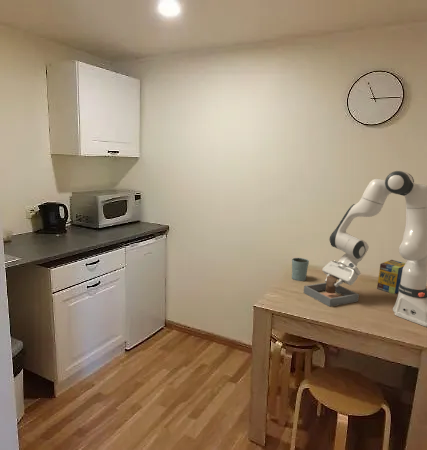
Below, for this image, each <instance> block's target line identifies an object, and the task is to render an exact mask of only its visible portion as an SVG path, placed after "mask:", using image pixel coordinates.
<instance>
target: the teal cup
mask: <svg viewBox="0 0 427 450" xmlns="http://www.w3.org/2000/svg"><path fill="white" fill-rule="evenodd" d="M309 264H310V260H308V259H307V258H302V257H294V258H293V257H292V258H291V279H292V280H294V281H297V282H305V281H306V280H307V273H308V268H309Z"/></svg>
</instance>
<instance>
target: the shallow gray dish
mask: <svg viewBox="0 0 427 450" xmlns="http://www.w3.org/2000/svg"><path fill="white" fill-rule="evenodd" d="M325 290H326V282H320V283H315V284H314V283H313V284H308V285H304V286H303V294H305V295H307V296H309V297H310V298H313V299H314V300H316V301H318V302H320V303H322V304H324V305H326V306H327V307H336V306H339V305H340V306H341V305H345V304H351V303H355V302H358V301H359V296H360V294H359V293H357V292H355V291H354V290H351V289H348V288H346V287H343V286H341V284H340V285H338V286H337V287H336V289H335V293H327V292H326V291H325ZM322 291H325V292H322ZM336 293H338V294H340V295H341V296H339V295H338V294H336Z"/></svg>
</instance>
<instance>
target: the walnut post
mask: <svg viewBox="0 0 427 450" xmlns="http://www.w3.org/2000/svg"><path fill="white" fill-rule="evenodd" d="M326 277H327V282H325V283H326V290H324V291H325V293H326V292H327V293H334V294H336V291H335V289H336V287H335V286H334V285H333V284H334V283H335V282H336V283H337V282H338V280H337V278H336V277H333V276H327V275H326Z"/></svg>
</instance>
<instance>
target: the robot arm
mask: <svg viewBox="0 0 427 450" xmlns="http://www.w3.org/2000/svg"><path fill="white" fill-rule="evenodd" d="M391 194H395V195H399V196H403V197H404V198H405V227H404V231H403V235H402V240H401V243H400V244H399V247H398V252H399V255H400V256H401V258H403V260H406V262H405V263H406V264H405V265H404V267H403V270H402V276H401V283H399V289H398V293H397V297H396V301H395V303H394V305H393V307H392V311H393V313H394V315H395V316H397V317H399V318H401V319H404V320H407V321H410V322H412V323H414V324H417V325H420V326H423V327H427V185H426V184H423V183H416V182H415V179H414V177H413V176H412V175H411V174H410V173H408V172H406V171H404V170H396V171H392V172H390V173H388V175H387V176H386V178H385V179H380V178H374V179H373V178H372V179H371V180H370V181H369V183H368V184H367V186H366V188H365V189H364V190H363V194H362V195H361V197H360V199H359V201H358V202H356V203H353V204H352V205H350V207H349V208H348V209H347V210H346V212H345V214H344V215H343V217H342V218H341V220H340V221H339V223H338V224H337V226H336V228H335V229H334V230H333V232H332V233H331V234H330V236H329V239H328V240H329V242H330V245H331V247H333V248H336V249H338V250H339V251H342V252H344V253H345V254H343V255H342V256H341V257H340V258H339V260H338V261H337V260H330V261H329V262H328V263H326V265H325V266H324V267H322V269H321V270H322V272H323V273H324V274H325V275H326V278H325V280H324V283H326V282H327V276H333V277H336V278H337V281H336V282H335V283H334V284H333V285H334V286H335V287H337V286H338V285H340V286H341V285H342V284H343V283H345V284H346V285H349V286H352V285H354V283H355V282H356V281H357V280H358V277H359V276H360V275H361V271H360V270H359V268H358V266H357V265H358V263H359V262H361V261H362V259H364V257H365V256H366V254H367V253H368V250H369V244H368V243H367V241H365V240H363V239H360V238H358V237H356V236H353V235H351V234H350V233H348V232H347V229H348V228H349V226H350V225H351V223H352V222H353V221H354V219H355V218H358V217H359V218H362V217H363V218H370V217H376V216H377V215H378V214H380V212H381V211H382V208H383V207H384V204H385V202H386V201H387V198H388V197H389V195H391Z"/></svg>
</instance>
